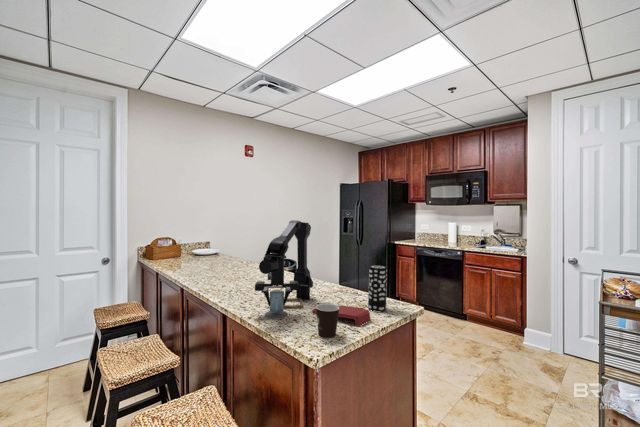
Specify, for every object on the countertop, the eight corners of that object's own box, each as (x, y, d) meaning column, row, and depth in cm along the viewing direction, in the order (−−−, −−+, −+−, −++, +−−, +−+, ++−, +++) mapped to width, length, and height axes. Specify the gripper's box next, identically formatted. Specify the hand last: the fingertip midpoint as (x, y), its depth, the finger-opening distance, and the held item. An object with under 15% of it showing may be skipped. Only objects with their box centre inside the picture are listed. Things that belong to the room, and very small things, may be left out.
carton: (311, 321, 133) (356, 328, 116) (310, 310, 134) (355, 315, 117) (328, 314, 142) (373, 320, 125) (327, 304, 143) (371, 308, 126)
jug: (283, 314, 124) (284, 295, 124) (269, 314, 123) (269, 295, 123) (283, 307, 132) (283, 289, 132) (269, 308, 132) (270, 290, 132)
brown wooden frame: (301, 300, 151) (301, 298, 151) (303, 308, 139) (303, 305, 139) (271, 301, 148) (271, 298, 148) (270, 309, 136) (271, 306, 136)
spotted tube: (387, 308, 142) (388, 266, 142) (383, 313, 134) (384, 269, 134) (370, 305, 145) (371, 264, 145) (366, 310, 138) (367, 267, 138)
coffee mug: (336, 340, 104) (337, 312, 104) (313, 337, 106) (313, 310, 106) (341, 328, 116) (341, 302, 116) (319, 325, 117) (320, 300, 117)
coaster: (287, 310, 135) (287, 310, 135) (288, 318, 125) (288, 317, 125) (265, 311, 133) (265, 310, 133) (264, 319, 123) (264, 318, 123)
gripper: (297, 266, 138) (296, 299, 138) (256, 266, 136) (256, 300, 136) (299, 271, 127) (298, 307, 127) (255, 271, 124) (254, 308, 125)
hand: (276, 305), depth 129 cm, fingers closed on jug, 6 cm apart
